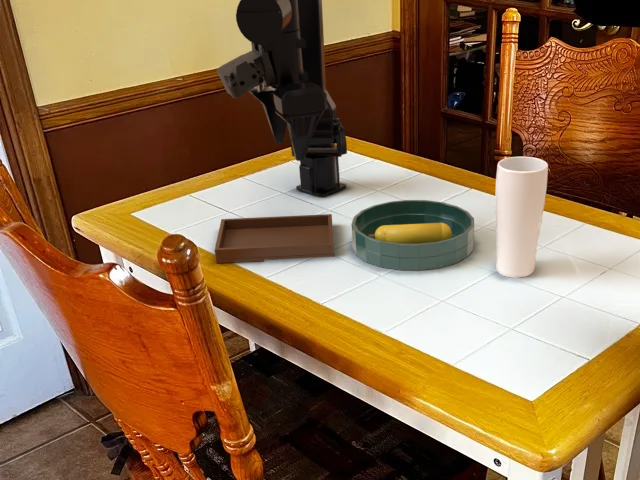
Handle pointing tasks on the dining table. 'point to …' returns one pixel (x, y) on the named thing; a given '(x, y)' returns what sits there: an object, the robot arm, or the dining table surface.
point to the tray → (274, 238)
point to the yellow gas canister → (413, 233)
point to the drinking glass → (519, 213)
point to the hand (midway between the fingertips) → (289, 151)
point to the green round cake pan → (413, 253)
